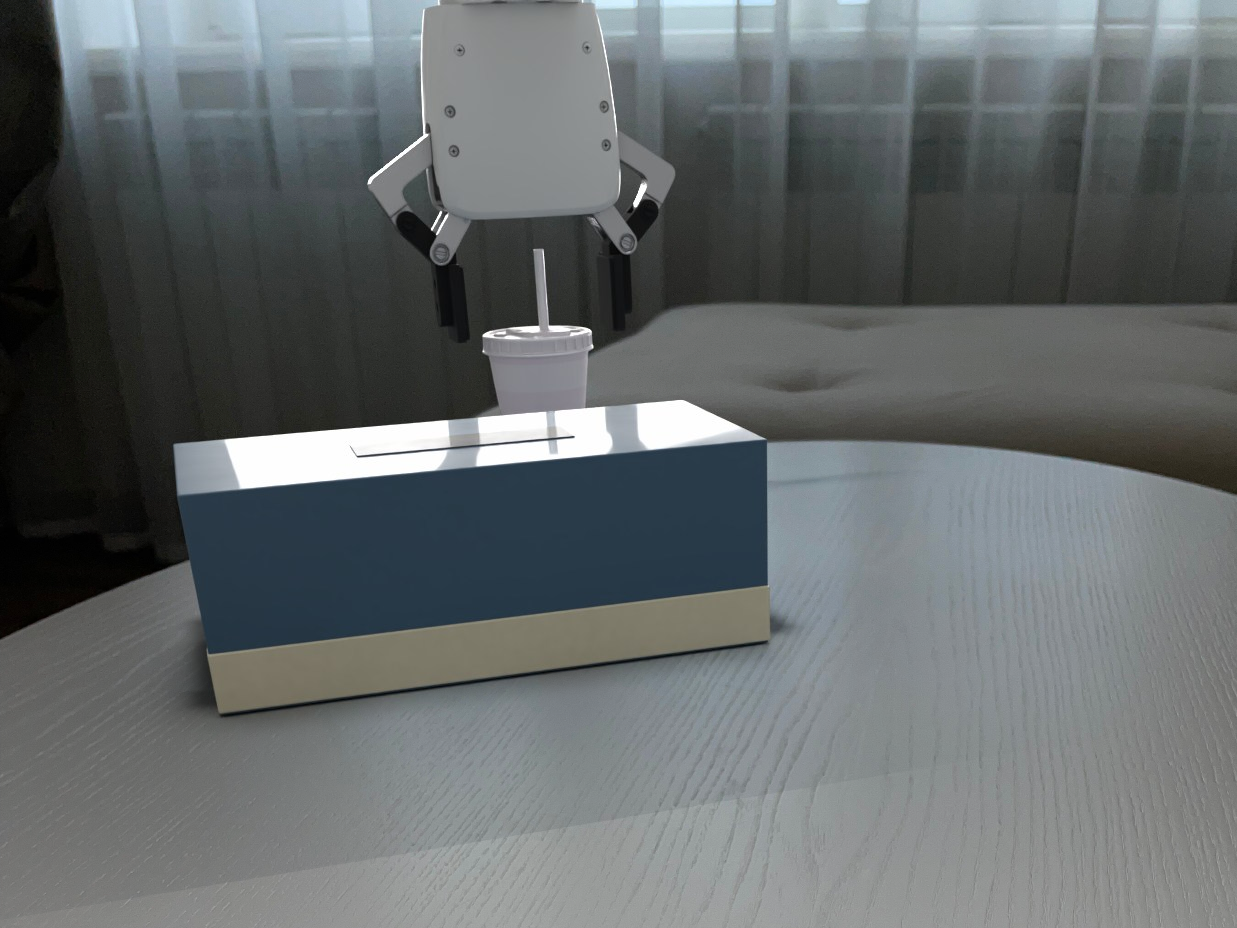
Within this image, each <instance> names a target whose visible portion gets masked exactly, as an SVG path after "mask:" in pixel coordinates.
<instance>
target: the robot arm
mask: <svg viewBox="0 0 1237 928" xmlns="http://www.w3.org/2000/svg"><path fill="white" fill-rule="evenodd" d="M421 23H422V24H421V41H420V42H421V43H420V44H421V47H420V48H421V49H420V76H421V77H420V78H421V79H420V82H421V106H422V107H421V108H422V112H421V113H422V126H423V127H422V128H423V129H422V130H423V136H421V137H420V138H419V139H417V141H415V142H413V144H411V145H410V146H408V148H406V149H405V150H404V151H403V152H401V153H400V154H399V155H398V156H396V157H395V158H393V159H392V160H391V161H390V162H389V163H387V164H386V165H385V166H383V168H381V169H380V170H378V171H377V172H376V173H375V174H373V175H371V176H370V178H369V179H368V182H367V189H368V192H370V194H371V196H372V197H373V199H374V200H375V201H376V203H377V204H378V206H379V207H380V209H381V210H382V212H383V213H384V215H385V216H386V217H387V218H388V220H389V222H390V223H391V224H392V225H393V228H394V229H395V231H396V232H397V233H398V234H399V235H401V236H402V238H403V239H405V241H407V242H408V244H410V245H411V246H412V247H413V248H414V249H415V250H416V251H417V252H419V253H420V254H421V255H422V256H423V257H424V259H426V260H427V261H428V262H429V263H430V264H429V265H430V271H431V281H432V290H433V299H434V309H435V317H436V322H437V325H438V327H439V328H446V327H447V335H448V338H449V340H451V341H453V342H455V343H456V344H466V343H468V341H471V334H470V324H469V311H468V302H467V293H466V292H467V291H466V283H465V282H466V281H465V271H464V267H463V266H461V265H460V264H458V261H457V253H456V251H457V249H458V248H459V246H460V244H461V242H462V241H463V238H464V236H465V235H466V233H467V231H468V229H469V227H470V225H471V223H472V221H473V220H476V221H477V220H502V219H503V220H504V219H505V220H506V219H526V218H545V217H563V216H564V217H565V216H579V215H582V216H583V217H584V219H585V220H586V222H587V223H588V224H589V226H590V227H591V228H592V230H593V231H594V232H595V234H596V235H597V236H598V238H599V239H600V241H601V251H600V252H598V254H597V255H596V257H595V264H596V265H595V266H596V280H597V281H596V282H597V283H596V284H597V299H598V316H599V324H600V326H602V327H603V328H605V329H608V330H610V331H613V332H615V333H617V332H625V331H626V315H627V314H628V315H629V314H630V315H631V314H632V312H633V287H632V286H633V285H632V269H631V267H632V266H631V265H632V264H631V255H632V254H633V253H634V252H635V251H636V250H637V247H638V243H639V242H640V240H641V239H642V238H643V237H644V235H645V234H646V233H647V231H649V229H650V228H651V227H652V225H653V224H654V223H655V221H657V218H658V216H659V212H660V209H661V206H662V205H663V204H664V202H665V201H666V198H667V195H668V194H669V191H670V189H671V187H672V185H673V182H674V180H675V178H676V170H675V167H674V166H673V165H672V164H671V163H669V162H668V161H667V160H665V159H663V158H662V157H661V156H659V155H657V154H655V152H652V151H651V150H650V149H648V148H646V147H645V146H643V145H642V144H641V143H639V142H637V141H636V140H634V139H633V138H631V137H630V136H628V135H627V134H626V133H624V132H623V131H621V130H620V129H618V128H617V119H616V113H615V105H614V97H613V89H612V82H611V77H610V70H609V64H608V59H607V53H606V48H605V42H604V37H603V33H602V32H603V31H602V27H601V23H600V19H599V16H598V12H597V7H596V4H595V3H593V2H584V0H438V5H433V6H429V7H425V8H424V9H423V13H422V22H421ZM621 165H623V166H624V167H626V168H627V169H628V170H631V171H632V172H634V173H635V174H637V176H639V178H640V181H641V184H640V187H639V190H638V193H637V195H636V198H635V200H633V202H632V203H631V204H630V205H629V207H628V208H627V209H626V210H625V212H624V213H623V214H622V215H621V213H620V212H619V211H618V209H617V207H616V206H615V204H616V203H617V201H618V199H619V196H620V193H621V192H620V191H621ZM425 171H426V173H425V174H426V180H427V181H426V182H427V188H428V194H429V199H430V201H431V204H432V207H434V208H435V209H436V210H437V211H439V214H438V216H437V218H436V220H435V222H434V223H433V225H432V227H431V228H430V227H429V226H428V225H427V224H426V223H425V222H424V221H423V220H422V219H421V218H420V217H419V216H418V215H416V213H414V211H413V210H412V208H411V207H410V205H409V203H408V202H407V200H406V199H405V197H404V189H405V187H406V186H407V185H408V184H410V182H412V181H413V180H414V179H416V178H417V177H419V176H420V175H421V174H422V173H423V172H425Z"/></svg>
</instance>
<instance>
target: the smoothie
mask: <svg viewBox="0 0 1237 928" xmlns="http://www.w3.org/2000/svg"><path fill="white" fill-rule="evenodd" d="M544 255H545V254H544V248H534V249H533V263H534V277H535V287H536V302H537V316H538V325H530V326H528V325H527V326H516V327H515V326H513V327H508V328H500V329H494V330H489V331H487V332H485V333H483V334H482V335H481V338H482V351H481V352H482V354H483V355H485V356H487V357H488V359H489V363H490V370H491V374H492V379H493V384H494V388H495V389H494V390H495V393H496V399H497V404H498V409H499V413H500V416H503V415H515V414H527V413H538V412H550V411H561V410H573V409H585V408H586V401H587V400H586V399H587V398H586V397H587V383H588V357H589V352H590V351H591V350H593V349H594V345H593V336H592V335H593V332H592V330H591V329H590V328H587V327H582V326H576V325H575V326H574V325H550V324H549V323H550V322H549V308H548V295H547V282H546V281H547V280H546V268H545V256H544Z"/></svg>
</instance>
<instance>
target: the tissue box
mask: <svg viewBox="0 0 1237 928" xmlns="http://www.w3.org/2000/svg"><path fill="white" fill-rule="evenodd" d="M172 448H173V450H172V451H173V462H174V474H175V485H176V486H175V487H176V498H177V504H178V508H179V513H180V519H181V525H182V528H183V534H184V539H185V543H186V549H187V554H188V558H189V563H190V568H191V574H192V579H193V584H194V589H195V594H196V598H197V603H198V604H197V605H198V609H199V615H200V619H201V624H202V629H203V634H204V639H205V644H206V655H207V656H206V657H207V662H208V666H209V672H210V677H211V682H212V688H213V692H214V696H215V701H216V706H217V711H218V714H220V715H221V716H227V715H234V714H235V715H236V714H242V713H249V712H250V713H251V712H257V711H264V710H272V709H279V708H285V707H287V708H288V707H294V706H301V705H302V706H303V705H309V704H316V703H323V702H331V701H338V700H345V699H355V698H360V697H367V696H368V697H369V696H375V695H384V694H390V693H398V692H405V691H411V690H413V691H414V690H420V689H426V688H427V689H428V688H435V687H443V686H449V685H458V684H465V683H473V682H479V681H488V680H494V679H502V678H508V677H517V676H523V675H524V676H525V675H531V674H532V675H533V674H539V673H546V672H554V671H555V672H556V671H560V670H568V669H576V668H584V667H591V666H599V665H607V664H613V663H622V662H628V661H635V660H643V659H650V658H658V657H666V656H673V655H680V654H687V653H694V652H703V651H710V650H718V649H725V648H732V647H733V648H734V647H740V646H747V645H754V644H761V643H768V642H769V641H770V639H771V592H770V591H771V587H770V585H769V578H768V577H769V561H768V560H769V557H768V556H769V549H768V548H769V547H768V545H769V544H768V543H769V542H768V541H769V539H768V537H769V536H768V535H769V533H768V532H769V531H768V528H769V527H768V440H767V438H764V437H763V436H760V435H758V434H756V433H755V432H752V431H750V430H747V429H745V428H743V427H742V426H739V425H737V424H735V423H732V422H730V421H729V420H726V419H724V418H722V417H720V416H717V415H716V414H714V413H711V412H710V411H707V410H706V409H703V408H701V407H699V406H697V405H695V404H693V403H690V402H688V401H686V400H683V399H679V400H668V401H656V402H644V403H633V404H621V405H610V406H609V405H608V406H599V407H597V406H596V407H585V409H573V410H561V411H550V412H538V413H527V414H515V415H503V416H501V415H492V416H482V417H471V418H459V419H457V418H456V419H447V420H435V421H425V422H423V421H422V422H413V423H401V424H388V425H378V426H365V427H355V428H343V429H332V430H331V429H330V430H320V431H319V430H318V431H307V432H295V433H285V434H273V435H262V436H248V437H238V438H225V439H215V440H205V441H204V440H203V441H191V442H179V443H173V445H172Z"/></svg>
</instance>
